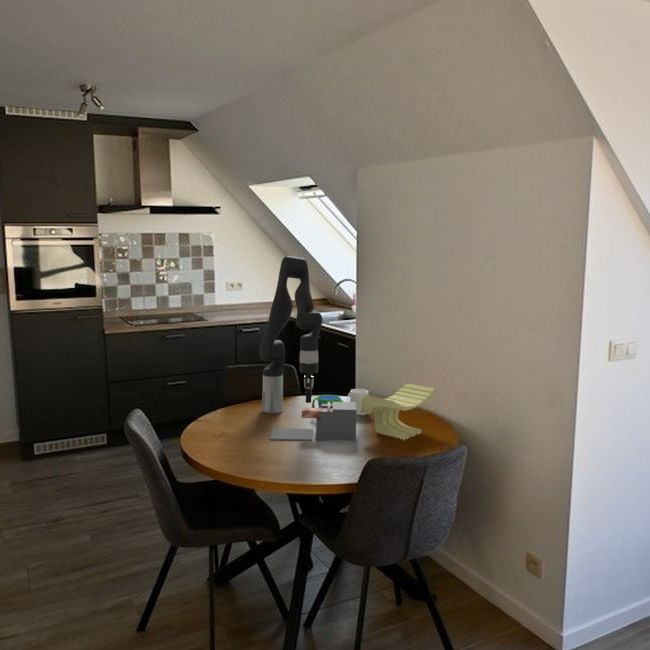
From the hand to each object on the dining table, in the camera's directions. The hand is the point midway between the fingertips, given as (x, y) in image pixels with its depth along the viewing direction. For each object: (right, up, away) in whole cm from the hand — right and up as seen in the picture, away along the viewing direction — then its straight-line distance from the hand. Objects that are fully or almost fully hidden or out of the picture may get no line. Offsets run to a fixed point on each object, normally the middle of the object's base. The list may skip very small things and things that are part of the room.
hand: (308, 400), depth 261 cm
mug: (+21, -11, +38) cm, 44 cm away
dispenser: (+11, -15, +2) cm, 19 cm away
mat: (-7, -15, +2) cm, 16 cm away
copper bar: (+5, -7, +1) cm, 8 cm away
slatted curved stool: (+37, -15, +8) cm, 41 cm away
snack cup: (+8, -12, +26) cm, 30 cm away
